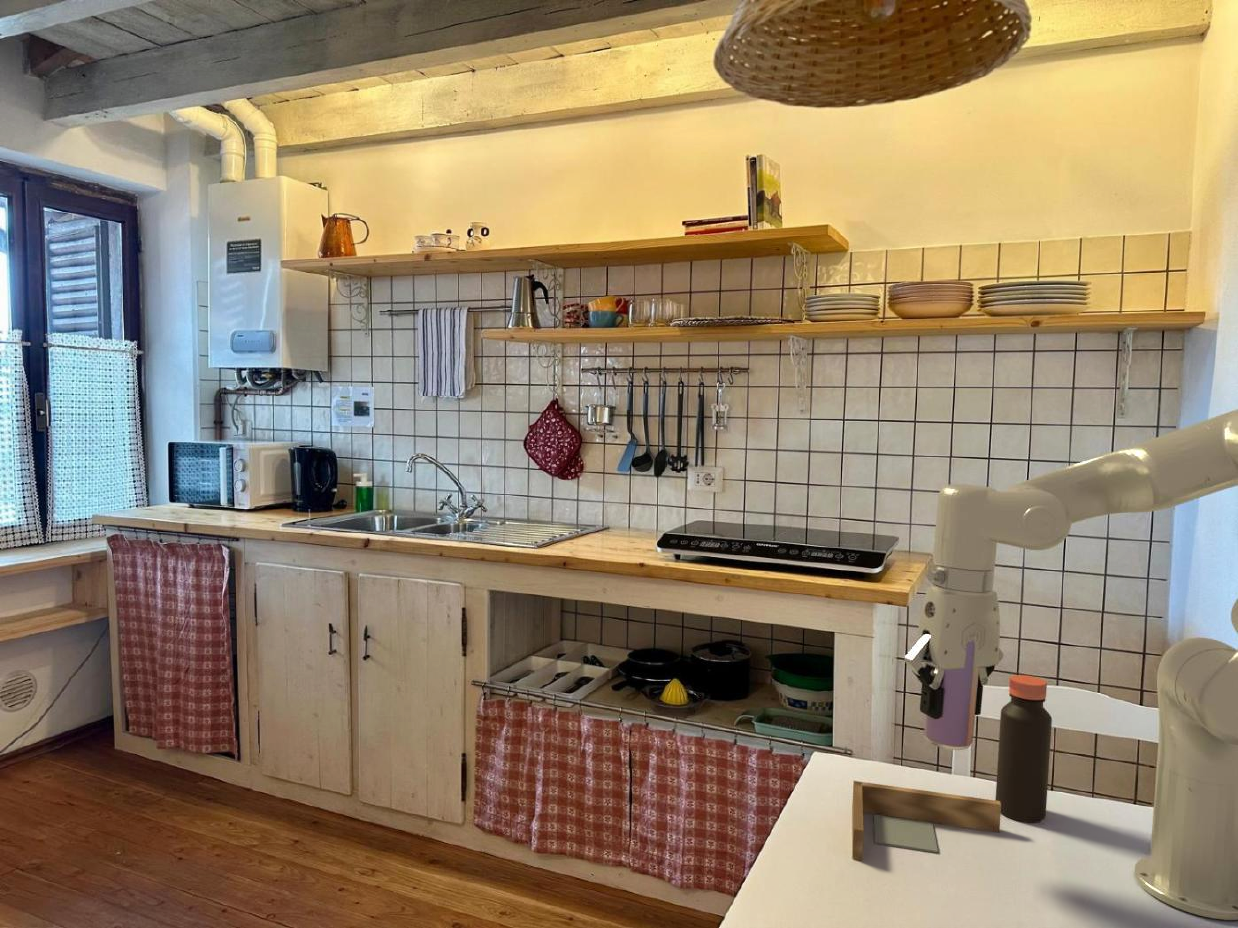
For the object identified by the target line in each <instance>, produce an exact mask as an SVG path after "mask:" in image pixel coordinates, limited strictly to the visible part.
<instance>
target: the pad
mask: <svg viewBox="0 0 1238 928" xmlns="http://www.w3.org/2000/svg"><path fill="white" fill-rule="evenodd" d="M933 825H934V823H933V822H926V821H919V820H912V819H906V818H899V817H892V816H885V815H879V814H873V829H874V830H873V831H874V844H876V845H882V846H889V847H895V848H902V849H907V850H912V851H913V850H915V851H919V852H921V851H922V852H927V853H934V854H939V850H938V846H937V845H938V844H937V840H936V835H935V830H934V826H933Z"/></svg>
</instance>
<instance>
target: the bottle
mask: <svg viewBox="0 0 1238 928" xmlns="http://www.w3.org/2000/svg"><path fill="white" fill-rule="evenodd" d="M1009 677H1010V678H1009V686H1008V687H1009V688H1008V692H1009V693H1008V695H1009V697H1010V701H1009V702H1008V703H1006V704H1005V705H1003V707H1002V708H1001V710H1000V717H999V718H1000V720H999V734H998V735H999V736H998V738H999V739H998V751H997V752H998V753H997V769H996V784H995V786H996V787H995V799H994V800H996V801H1000V803H1001V815H1003V816H1005V817H1007V818H1009V819H1012V820H1013V821H1014V820H1015V821H1018V822H1022V823H1038V822H1041V821H1043V820H1045V818H1046V814H1047V800H1048V789H1049V788H1048V783H1049V772H1050V771H1049V769H1050V756H1051V738H1052V722H1053V719H1052V716H1051V714H1050V713H1049V711H1048V710H1046V708H1045V707H1044V703H1045V702H1046V698H1047V687H1048V683H1047V681H1046V680H1044V679H1042V678H1039V677H1035V676H1031V675H1024V674H1023V675H1022V674H1017V675H1012V676H1009Z"/></svg>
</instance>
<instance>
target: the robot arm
mask: <svg viewBox="0 0 1238 928" xmlns="http://www.w3.org/2000/svg"><path fill="white" fill-rule="evenodd" d="M1237 486H1238V409H1235V410H1231V411H1228V412H1225V413H1222V414H1219V415H1216V416H1215V417H1211V418H1209V419H1205V420H1203V421H1199V422H1197V423H1194V424H1191V425H1189V426H1186V427H1183V428H1180V429H1177V430H1174V431H1171V432H1169V433H1166V434H1163V435H1160V436H1158V437H1155V438H1152V439H1149V440H1146V441H1143V442H1139V443H1137V444H1134V445H1132V446H1129V447H1124V448H1121V449H1118V450H1115V451H1111V452H1108V453H1106V454H1104V455H1100V456H1098V457H1093V458H1091V459H1088V460H1085V461H1081V462H1077V463H1075V464H1071V465H1068V466H1065V467H1064V466H1063V468H1059V469H1056V470H1053V471H1050V472H1047V473H1045V474H1041V475H1038V476H1036V477H1033V478H1029V479H1028V480H1027V479H1026V480H1023V481H1021V482H1019V483H1017V484H1014V485H1012V486H1011V485H1010V487H1007V488H1006V489H1005V490H1003V491H997V490H996V489H994V488H992V487H988V486H985V485H975V484H968V483H967V484H965V483H964V484H963V483H950V484H947V485H944V486H943V487H941V488H940V491H939V493H938V496H937V497H938V498H937V507H936V519H935V520H936V521H935V531H934V543H933V556H932V565H931V567H932V568H931V570H929V571H928V572H927V574H926V578H927V580H928V581H929V582H930V586H928V587H927V589H926V592H925V595H924V600H923V602H922V606H921V611H920V616H919V621H918V622H919V623H918V629H917V638H916V644H915V645H914V646H913V647H912V649H910V651H909V652H908V654H906V655H905V657H904V662H905V663H906V665H907V666H908V667H909V669H910V670H911V671H912V673H913V674H914V675H915V677H916V678H917V681H918V682H919V683H920V684H921V690H920V703H919V710H920V713H922V714H923V715H925V716H926V715H928V716H930V717H931V718H933V719H939V718H940V716H941V704H942V693H943V692H942V689H940V688H938V687H939V685H940V683H941V680H942V678H943V675H944V673H945V670H958V669H961V668H964V665H965V658H966V650H965V649H964V648H967V647H966V646H965V645H966V644H967V643H968V642H970V641H972V637H973V641H974V640H975V641H976V642H977V643H978V644H979V646H978V648H979V649H978V658H977V667H978V668H979V675H978V686H977V697H976V708H975V716H980V715H981V713H982V702H983V701H982V700H983V692H984V686H986V685H987V684H988V682H989V679H988V678H989V677H990V676H991V674H993V672H994V671H995V669H996V668H995V667H996V666H997V665H998V664H999V663H1000V662H1001V661H1002V660H1003V659H1004V653H1003V651H1002V650H1001V649H1000V636H1001V635H1000V633H1001V631H1000V629H1001V628H1000V627H1001V625H1000V624H1001V621H1000V605H999V599H998V593H997V591H995V590H993V588H994V579H995V578H994V577H995V567H996V566H995V565H996V557H997V547H998V544H1001V545H1006V546H1011V547H1016V548H1021V549H1024V550H1029V551H1045V550H1050V549H1053V548H1055V547H1057V546H1059V545H1060V544H1061V543H1063V542H1064V541H1065V539H1066V538H1067V537H1068V536H1069V533H1070V531H1071V528H1072V527H1071V526H1072V524H1074V523H1075V524H1076V523H1077V522H1082V521H1085V520H1087V519H1088V520H1089V519H1092V518H1096V517H1101V516H1107V515H1114V514H1127V513H1129V514H1131V513H1132V514H1133V513H1134V514H1135V513H1136V514H1137V513H1149V512H1150V513H1151V512H1156V511H1163V510H1167V509H1171V508H1174V507H1177V506H1179V505H1180V506H1181V505H1182V504H1185V503H1188V502H1191V501H1192V502H1193V501H1194V500H1196V499H1200V498H1202V497H1206V496H1208V495H1212V494H1214V493H1217V492H1221V491H1224V490H1226V489H1230V488H1234V487H1237ZM1230 621H1231V624H1232V626H1233V629H1234V630H1235V632H1236V633H1237V634H1238V598H1237V599H1235V602H1234V603H1233V605H1232V608H1231V612H1230ZM975 637H976V638H977V639H975ZM969 638H971V639H969ZM922 661H924V662H923V663H922ZM932 666H933V667H935V670H934V673H933V675H931V670H932ZM1156 688H1157V689H1156V692H1157V706H1158V744H1157V746H1158V748H1157V757H1156V758H1157V760H1156V772H1155V785H1154V786H1155V787H1154V799H1153V800H1154V801H1153V812H1152V813H1153V814H1152V825H1151V826H1152V827H1151V840H1150V841H1151V842H1150V855H1149V856H1147V857H1146V856H1145V857H1144V858H1141V859H1139V860H1138V861H1136V863H1135V865H1134V871H1133V872H1134V873H1133V874H1134V878H1135V880H1136V881H1137V883H1138V884H1139V886H1141V888H1143V890H1144V891H1146V892H1147V893H1149V894H1150V895H1152V896H1153V897H1154V898H1156V899H1157V900H1159V901H1161V902H1163V903H1165V904H1167V905H1169V906H1172V907H1174V908H1176V909H1179V910H1181V911H1184V912H1187V913H1190V914H1194V915H1197V916H1200V917H1203V918H1210V919H1215V920H1216V919H1217V920H1224V921H1237V920H1238V648H1235V647H1233V646H1231V645H1229V644H1227V643H1225V642H1222V641H1220V640H1216V639H1213V638H1207V637H1191V638H1186V639H1183V640H1180V641H1178V642H1176V643H1174V644H1173V645H1171V646H1170V647H1169V648H1168V649H1167V650H1166V652H1165V653H1164V654H1163V655H1162V657H1161V660H1160V662H1159V665H1158V668H1157V676H1156Z"/></svg>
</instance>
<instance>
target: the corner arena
mask: <svg viewBox="0 0 1238 928" xmlns="http://www.w3.org/2000/svg"><path fill="white" fill-rule="evenodd" d="M851 804H852V806H851V807H852V808H851V810H852V811H851V816H852V817H851V822H852V823H851V825H852V827H851V830H852V832H851V835H852V836H851V837H852V839H851V843H852V844H851V845H852V846H851V847H852V856H851V857H852V858H851V859H852V860H856V861H857V860H858V861H862V860H863V847H864V846H863V845H864V844H863V843H864V813H866V814H873V815H880V816H887V817H894V818H900V819H907V820H914V821H920V822H927V823H932V824H934V823H935V824H939V825H940V824H941V825H946V826H947V825H948V826H954V827H962V828H967V829H975V830H979V831H980V830H982V831H986V832H987V831H988V832H994V833H1000V829H1001V817H1002V816H1001V815H1002V814H1001V803H1000V801H996V800H995V799H988V798H980V797H975V796H974V797H973V796H965V795H958V794H952V793H944V792H937V791H930V790H923V789H916V788H908V787H902V786H901V787H900V786H894V785H886V784H879V783H872V782H865V781H858V780H853V784H852V803H851Z"/></svg>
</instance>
